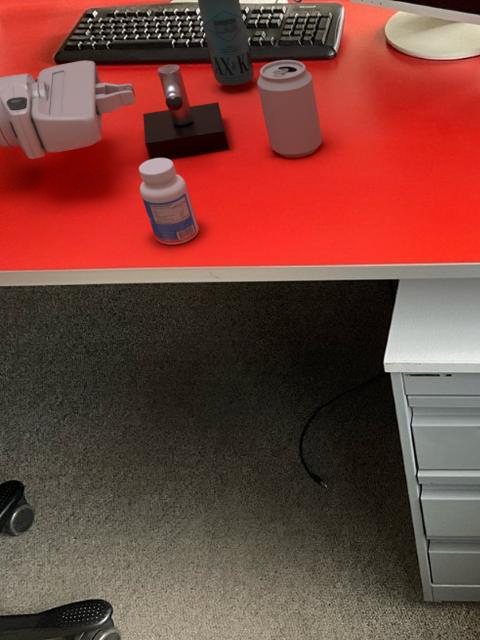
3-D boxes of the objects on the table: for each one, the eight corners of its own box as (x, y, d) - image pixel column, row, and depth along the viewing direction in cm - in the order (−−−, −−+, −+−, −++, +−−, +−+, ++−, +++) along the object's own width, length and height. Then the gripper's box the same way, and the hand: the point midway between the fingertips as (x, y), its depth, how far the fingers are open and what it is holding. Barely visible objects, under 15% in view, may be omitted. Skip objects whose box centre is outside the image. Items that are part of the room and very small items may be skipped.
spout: (175, 151, 123) (160, 97, 118) (171, 117, 131) (156, 66, 126) (197, 147, 124) (183, 93, 119) (192, 114, 132) (178, 62, 126)
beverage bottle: (210, 85, 147) (178, -43, 134) (246, 74, 150) (219, -53, 137) (228, 98, 143) (198, -33, 130) (265, 86, 146) (239, -43, 133)
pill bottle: (160, 224, 115) (138, 155, 109) (202, 221, 115) (183, 152, 109) (151, 247, 111) (127, 177, 105) (194, 245, 111) (174, 175, 105)
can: (333, 141, 131) (320, 61, 123) (304, 164, 126) (289, 82, 118) (290, 132, 134) (275, 53, 126) (260, 154, 129) (243, 73, 121)
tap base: (151, 162, 128) (145, 143, 126) (148, 132, 135) (143, 113, 133) (229, 149, 130) (224, 130, 128) (222, 120, 137) (218, 102, 135)
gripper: (38, 100, 128) (138, 85, 131) (30, 165, 114) (143, 147, 117) (21, 57, 124) (125, 42, 127) (11, 119, 109) (129, 101, 112)
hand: (134, 93), depth 122 cm, fingers closed
